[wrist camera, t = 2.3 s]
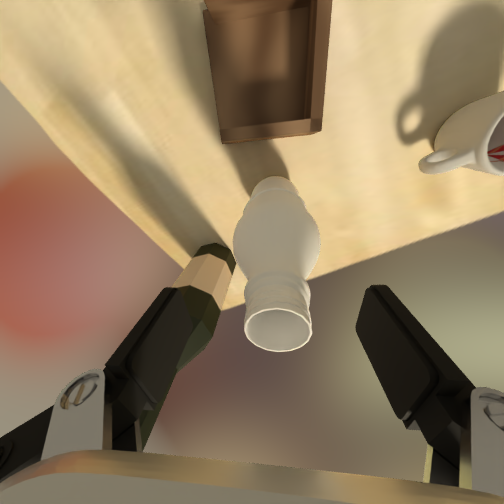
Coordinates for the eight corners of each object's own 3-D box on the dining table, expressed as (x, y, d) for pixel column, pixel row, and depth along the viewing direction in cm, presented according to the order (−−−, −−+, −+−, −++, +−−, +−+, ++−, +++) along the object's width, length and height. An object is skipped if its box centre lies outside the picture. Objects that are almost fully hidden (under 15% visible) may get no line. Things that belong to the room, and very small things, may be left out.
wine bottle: (244, 264, 37) (176, 542, 11) (216, 282, 40) (112, 531, 14) (215, 234, 34) (30, 511, 8) (188, 257, 37) (-7, 506, 11)
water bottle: (243, 199, 30) (169, 328, 9) (273, 162, 27) (274, 221, 5) (275, 226, 32) (279, 389, 10) (306, 195, 29) (405, 335, 7)
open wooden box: (320, -8, 19) (338, -68, 13) (311, 134, 25) (321, 130, 20) (205, 16, 20) (182, -30, 15) (223, 144, 26) (211, 142, 21)
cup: (407, 191, 27) (453, 205, 20) (393, 139, 24) (441, 135, 17) (501, 144, 23) (597, 142, 16) (498, 76, 20) (614, 39, 13)
